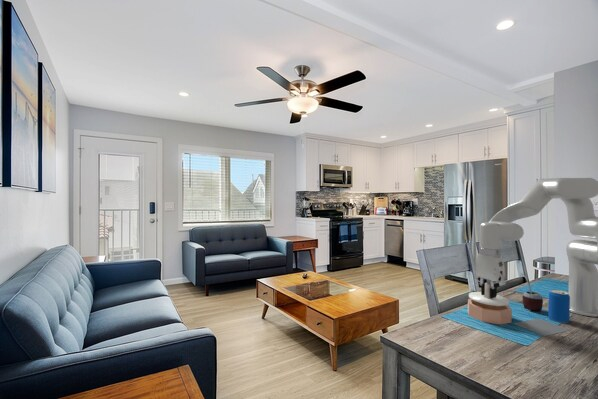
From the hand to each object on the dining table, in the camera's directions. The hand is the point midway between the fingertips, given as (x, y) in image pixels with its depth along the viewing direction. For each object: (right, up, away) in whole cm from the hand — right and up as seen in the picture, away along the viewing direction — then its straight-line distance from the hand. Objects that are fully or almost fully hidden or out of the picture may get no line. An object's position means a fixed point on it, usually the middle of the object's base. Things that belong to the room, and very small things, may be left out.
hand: (488, 295), depth 124 cm
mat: (+14, -9, -10) cm, 20 cm away
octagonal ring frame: (0, -9, 0) cm, 9 cm away
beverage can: (+27, -10, -3) cm, 28 cm away
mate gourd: (+24, -9, +8) cm, 27 cm away
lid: (0, -2, 0) cm, 2 cm away
